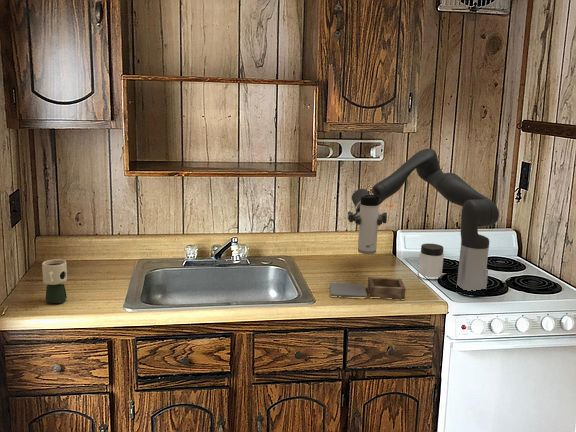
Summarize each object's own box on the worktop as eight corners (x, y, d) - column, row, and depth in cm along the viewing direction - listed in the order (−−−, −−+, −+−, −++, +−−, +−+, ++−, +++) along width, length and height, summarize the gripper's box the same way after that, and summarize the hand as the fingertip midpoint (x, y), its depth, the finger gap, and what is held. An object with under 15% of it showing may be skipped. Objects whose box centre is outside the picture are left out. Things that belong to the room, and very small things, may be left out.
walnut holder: (400, 289, 212) (401, 278, 211) (404, 300, 201) (405, 288, 200) (367, 287, 212) (368, 277, 211) (370, 298, 202) (371, 287, 201)
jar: (446, 279, 225) (449, 248, 222) (429, 281, 221) (432, 250, 218) (429, 272, 232) (432, 242, 230) (413, 274, 228) (416, 244, 226)
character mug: (63, 308, 185) (61, 267, 182) (39, 308, 184) (36, 267, 181) (72, 295, 195) (70, 257, 192) (49, 295, 195) (47, 257, 192)
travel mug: (371, 255, 201) (374, 197, 196) (354, 251, 205) (357, 194, 200) (380, 251, 206) (384, 194, 201) (363, 248, 209) (366, 191, 205)
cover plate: (363, 287, 213) (363, 283, 212) (366, 299, 201) (366, 295, 201) (329, 285, 213) (330, 282, 213) (330, 297, 201) (330, 294, 201)
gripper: (385, 222, 217) (390, 233, 201) (345, 220, 218) (346, 232, 202) (386, 201, 215) (391, 212, 199) (346, 200, 216) (347, 210, 200)
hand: (368, 222), depth 200 cm, fingers closed on travel mug, 6 cm apart
